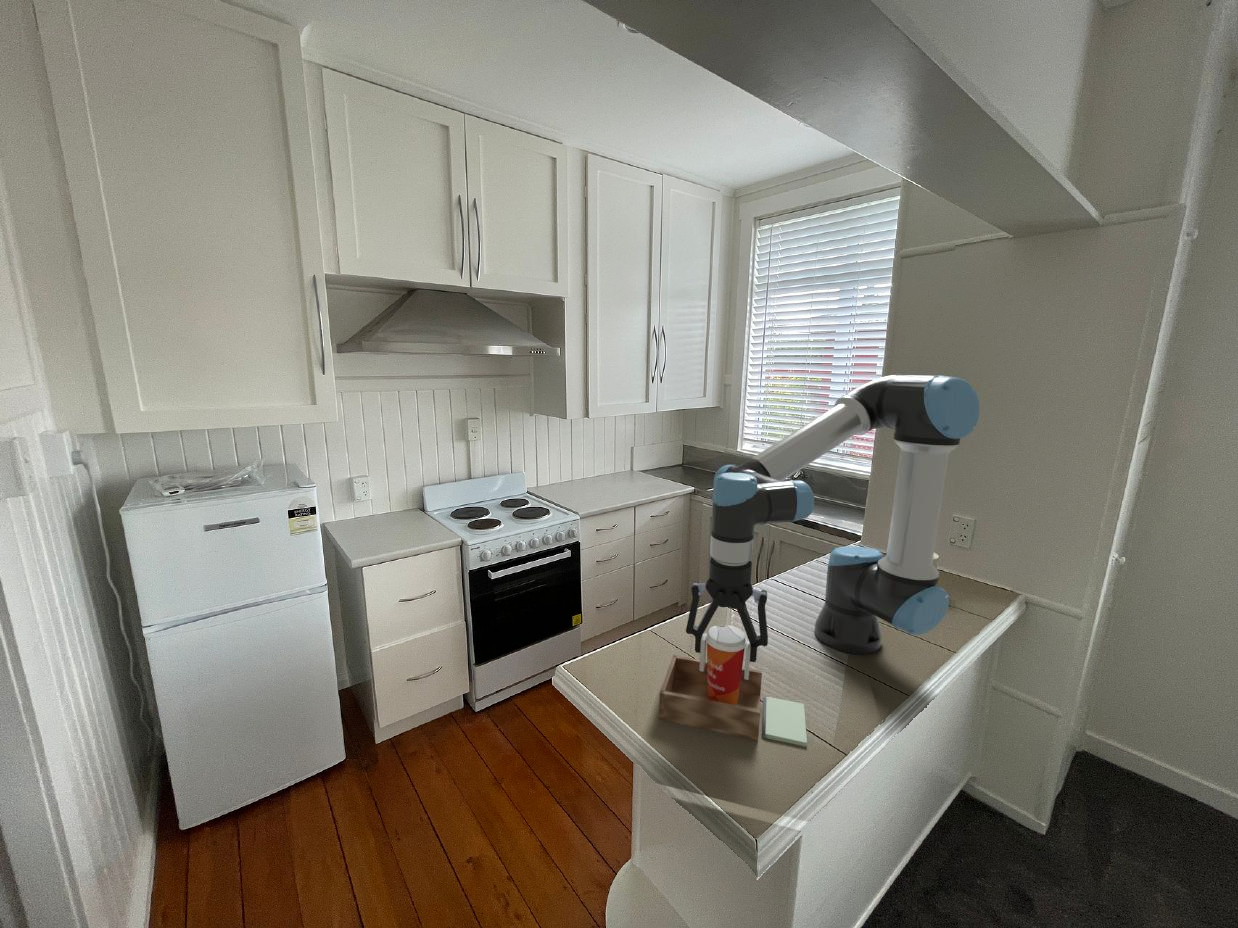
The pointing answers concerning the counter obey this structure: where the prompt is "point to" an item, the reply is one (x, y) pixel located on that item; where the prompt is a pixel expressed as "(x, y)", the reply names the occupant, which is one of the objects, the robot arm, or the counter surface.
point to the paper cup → (724, 663)
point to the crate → (691, 705)
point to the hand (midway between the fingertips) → (724, 671)
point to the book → (784, 721)
